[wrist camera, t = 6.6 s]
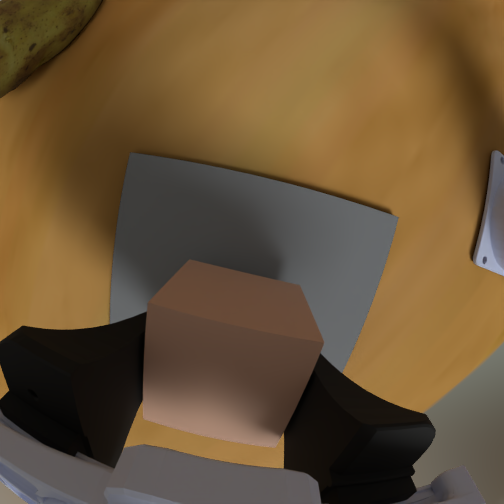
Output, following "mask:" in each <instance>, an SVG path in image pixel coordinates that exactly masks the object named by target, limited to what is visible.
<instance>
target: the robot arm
mask: <svg viewBox="0 0 504 504" xmlns="http://www.w3.org/2000/svg"><path fill="white" fill-rule="evenodd" d="M473 262H474V264H475V265H478V266H480V267H483V268H485V269H488V270H490V271H493V272H495V273H498V274H500V275H503V276H504V155H503V154H501V153H500V152H499V151H493V152H492V155H491V166H490V175H489V183H488V190H487V197H486V203H485V208H484V214H483V219H482V223H481V228H480V232H479V237H478V241H477V244H476V248H475V252H474V256H473ZM146 318H147V311H146V312H144V313H141V314H139V315H136V316H134V317H131V318H128V319H125V320H122V321H119V322H116V323H112V324H108V325H104V326H99V327H93V328H84V329H74V330H54V329H42V328H35V327H28V326H21V327H20V328H19V329H17V330H16V331H14V332H13V333H12V334H10V335H9V336H7V337H6V338H5V339H3V340H2V341H0V365H1V368H2V371H3V374H4V377H5V380H6V383H7V385H8V388H9V391H8V392H7V393H6V394H5V395H4V396H3V397H2V398H1V399H0V481H1V482H2V483H3V484H5V485H6V486H7V487H8V488H10V490H12V491H13V492H14V493H15V494H17V495H18V496H19V497H20V498H22V499H23V500H24V501H25V502H27V503H28V504H485V503H486V502H485V501H484V499H483V497H482V495H481V493H480V492H479V490H478V488H477V486H476V484H475V483H474V481H473V479H472V478H471V476H470V474H469V473H468V471H467V469H466V468H465V466H464V465H460V466H458V467H455V468H452V469H449V470H447V471H445V472H443V473H441V474H440V475H439V476H437V477H436V478H435V479H434V480H433V481H432V482H431V484H429V485H426V486H423V487H419V488H416V487H415V485H414V483H413V480H412V478H411V476H412V475H413V474H414V473H415V470H414V468H413V466H412V465H413V464H414V463H415V462H416V461H417V460H418V459H419V458H420V457H421V455H422V454H423V453H424V452H425V451H426V450H427V449H428V447H429V446H430V445H431V443H432V441H433V439H434V437H435V431H436V430H435V428H434V426H433V425H432V423H431V421H430V420H429V418H428V417H427V415H426V414H423V413H420V412H416V411H412V410H409V409H406V408H403V407H400V406H397V405H395V404H392V403H390V402H388V401H385V400H383V399H381V398H379V397H377V396H375V395H373V394H372V393H370V392H368V391H366V390H365V389H363V388H361V387H360V386H359V385H357V384H356V383H354V382H353V381H351V380H350V379H349V378H347V377H346V376H345V375H344V374H342V373H341V372H340V371H339V370H338V369H337V368H335V367H334V366H333V365H332V364H331V363H330V362H329V361H328V360H327V359H326V358H325V357H324V356H323V355H322V354H321V353H320V355H319V357H318V360H317V362H316V364H315V367H314V369H313V371H312V374H311V376H310V378H309V381H308V383H307V385H306V387H305V389H304V392H303V394H302V396H301V398H300V400H299V402H298V404H297V406H296V408H295V411H294V413H293V415H292V417H291V419H290V421H289V423H288V425H287V426H286V428H285V430H284V469H282V468H269V467H259V466H251V465H243V464H237V463H230V462H224V461H219V460H214V459H209V458H204V457H199V456H195V455H191V454H187V453H183V452H179V451H175V450H172V449H168V448H162V447H157V446H151V445H146V444H144V445H137V446H132V447H126V448H124V449H123V447H124V444H125V442H126V439H127V436H128V433H129V431H130V428H131V426H132V423H133V421H134V418H135V416H136V413H137V411H138V408H139V406H140V404H141V402H142V400H143V369H144V346H145V330H146ZM122 450H123V452H122ZM121 453H122V454H121Z"/></svg>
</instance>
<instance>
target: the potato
mask: <svg viewBox="0 0 504 504" xmlns="http://www.w3.org/2000/svg"><path fill="white" fill-rule="evenodd" d="M101 1H102V0H1V1H0V98H2V97H3V96H4V95H6V94H7V93H9V92H10V91H12V90H14V89H15V88H17V87H18V86H19V85H20V84H22V83H23V82H24V81H25V80H26V79H27V78H28V77H29V76H30V75H31V74H32V73H33V72H34V70H35V69H36V68H37V67H39V66H40V65H42V64H43V63H45V62H47V61H48V60H50V59H51V58H52V57H54V56H55V55H57V54H58V53H59V52H61V51H62V50H63V49H64V48H65V47H66V46H67V45H68V44H69V43H70V42H71V41H72V40H73V39H74V38H75V37H76V36H77V34H78V33H79V32H80V31H81V30H82V29H83V28H84V26H85V25H86V24H87V22H88V21H89V20H90V19H91V17H92V16H93V14H94V13H95V11H96V10H97V8H98V6H99V5H100V3H101Z"/></svg>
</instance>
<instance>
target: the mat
mask: <svg viewBox="0 0 504 504" xmlns="http://www.w3.org/2000/svg"><path fill="white" fill-rule="evenodd" d="M398 218H399V217H396V216H394V215H391V214H388V213H385V212H382V211H379V210H376V209H373V208H370V207H367V206H364V205H361V204H358V203H355V202H351V201H348V200H345V199H342V198H338V197H335V196H332V195H328V194H325V193H321V192H318V191H314V190H311V189H307V188H303V187H300V186H296V185H292V184H288V183H284V182H280V181H276V180H272V179H268V178H264V177H260V176H256V175H252V174H247V173H243V172H238V171H234V170H229V169H224V168H219V167H214V166H209V165H204V164H199V163H194V162H188V161H183V160H177V159H171V158H165V157H159V156H152V155H146V154H139V153H131V152H130V156H129V160H128V164H127V169H126V174H125V179H124V184H123V190H122V195H121V201H120V207H119V214H118V221H117V228H116V236H115V245H114V254H113V266H112V279H111V299H110V324H112V323H116V322H119V321H122V320H125V319H128V318H131V317H134V316H136V315H139V314H141V313H144V312H146V311H147V306H148V302H149V301H150V300H151V299H152V298H153V297H154V295H155V294H156V293H157V292H158V291H159V290H160V289H161V288H162V287H163V286H164V285H165V284H166V283H167V282H168V281H169V280H170V279H171V278H172V277H173V276H174V275H175V274H176V273H177V272H178V271H179V270H180V268H181V267H182V266H183V265H184V264H185V263H186V262H187V261H188V260H189V259H190V260H195V261H199V262H203V263H207V264H211V265H215V266H219V267H223V268H228V269H232V270H236V271H240V272H245V273H249V274H253V275H257V276H262V277H266V278H270V279H275V280H279V281H284V282H288V283H293V284H297V285H300V287H301V289H302V291H303V293H304V296H305V298H306V300H307V303H308V305H309V307H310V310H311V312H312V314H313V317H314V319H315V321H316V324H317V326H318V328H319V331H320V333H321V335H322V338H323V340H324V345H323V348H322V350H321V354H322V355H323V356H324V357H325V358H326V359H327V360H328V361H329V362H330V363H331V364H332V365H333V366H334V367H335V368H337V369H338V370H339V371H340V372H341V373H342V372H343V370H344V368H345V366H346V363H347V361H348V359H349V357H350V355H351V353H352V350H353V348H354V346H355V344H356V341H357V339H358V337H359V334H360V332H361V329H362V327H363V325H364V322H365V320H366V317H367V314H368V312H369V309H370V307H371V304H372V301H373V299H374V296H375V293H376V290H377V287H378V285H379V282H380V279H381V276H382V273H383V270H384V267H385V263H386V260H387V257H388V254H389V250H390V247H391V244H392V240H393V237H394V233H395V229H396V225H397V222H398Z"/></svg>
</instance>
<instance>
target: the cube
mask: <svg viewBox="0 0 504 504" xmlns="http://www.w3.org/2000/svg"><path fill="white" fill-rule="evenodd" d="M323 345H324V340H323V338H322V335H321V333H320V331H319V328H318V326H317V324H316V321H315V319H314V317H313V314H312V312H311V310H310V307H309V305H308V303H307V300H306V298H305V296H304V293H303V291H302V289H301V287H300V285H297V284H293V283H288V282H284V281H279V280H275V279H270V278H266V277H262V276H257V275H253V274H249V273H245V272H240V271H236V270H232V269H228V268H223V267H219V266H215V265H211V264H207V263H203V262H199V261H195V260H190V259H189V260H188V261H187V262H186V263H185V264H184V265H183V266H182V267H181V268H180V270H179V271H178V272H177V273H176V274H175V275H174V276H173V277H172V278H171V279H170V280H169V281H168V282H167V283H166V284H165V285H164V286H163V287H162V288H161V289H160V290H159V291H158V292H157V293H156V294H155V295H154V297H153V298H152V299H151V300H150V301H149V302H148V306H147V318H146V330H145V346H144V369H143V419H145V420H148V421H152V422H155V423H158V424H161V425H164V426H168V427H171V428H175V429H178V430H182V431H186V432H190V433H194V434H198V435H202V436H206V437H211V438H216V439H221V440H226V441H231V442H237V443H243V444H250V445H257V446H265V447H276V445H277V444H278V442H279V440H280V438H281V436H282V434H283V432H284V430H285V428H286V426H287V425H288V423H289V421H290V419H291V417H292V415H293V413H294V411H295V408H296V406H297V404H298V402H299V400H300V398H301V396H302V394H303V392H304V389H305V387H306V385H307V383H308V381H309V378H310V376H311V374H312V371H313V369H314V367H315V364H316V362H317V360H318V357H319V355H320V353H321V350H322V348H323Z"/></svg>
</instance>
